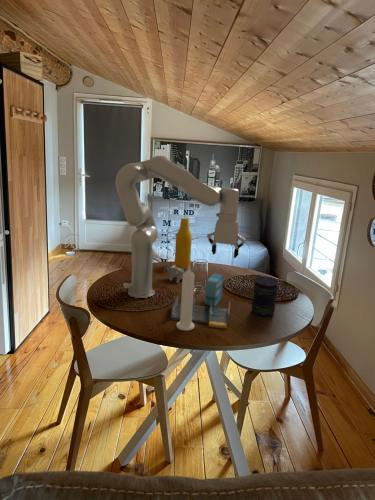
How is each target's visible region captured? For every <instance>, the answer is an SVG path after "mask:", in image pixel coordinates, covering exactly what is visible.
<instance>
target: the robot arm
mask: <svg viewBox="0 0 375 500" xmlns="http://www.w3.org/2000/svg"><path fill="white" fill-rule="evenodd" d="M155 178H158V179H160V180H162V181H164V182H166V183H168V184H169V185H171V186H173V187H175V188H177V189H178V190H180V191H181V192H183V193H184V194H185V195H187V196H189V197H190V198H192V199H194V200H196V201H198V202H199V203H201V204H203V205H205V206H207V207H214V206H216V205H217V204H219V212H217V213H216V214H215V216H216V217H217V218H218V219H217V220H216V222H215V226H214V227H215V228H214V232H211V233H208V234H207V235H206V237H207V239H208V242H209V243H210V244H211V253H212V255H215V254H217V244H224V245H230V246H234V250H233V251H234V253H233V259H236V258H237V257H238V256H239V251H240V248H242V247H243V246H244V244H245V243H246V242H247V239H246V238H245V237H243V236H241V235H240V234H239V230H240V229H239V221H238V220H237V219H238V209H239V198H240V197H239V196H240V191H239V190H240V189H238V188H234V187H221V186H215V185H208V184H206V183H204V182H202V181H201V180H199V179H197V178H196V177H195V176H194V175H193V174H192V173H191V172H190V171H189V170H187V169H185V168H184V167H182V166H180V165H178V164H177V163H174V162H173V161H171V160H170V159H169V157H168V156H165V155H155V156H153V157H152V158H150V159H147V160H142V161H139V162H131V163H127V164H125V165H124V166H122V167H121V168H120V169H119V170H118V172H117V174H116V177H115V189H116V191H117V196H118V197H119V200H120V204H121V207H122V211H123V213H124V216H125V219H126V222H127V223H128V224H129V225H130V226H131V227H135V228H136V229H135V230H134V231H133V233H132V234H131V237H130V248H131V282H130V283H127V282H123V284H122V287H123V289H125V290H128V291H127V294H128V296H129V297H131V298H133V297H134V299H138V298H145V299H149V298H148V297H150V298H152V297H154V296H155V295H156V291H155V289H153V265H154V264H153V263H154V262H153V261H154V259H153V257H154V253H153V244H154V243H155V242H156V241H157V239H158V233H159V232H158V229H157V225H156V223H155V222H156V221H155V219H154V216H153V213H152V210H151V208H150V206H149V205H148V204H147V203H145V202H142V201H141V198H140V194H139V191H138V190H137V187H136V184H137V183H140V182H144V181H148V180H151V179H155ZM212 237H213V239H212ZM239 240H240V241H241V242H240V243H238V241H239ZM154 294H155V295H154ZM153 295H154V296H153ZM151 296H152V297H151Z"/></svg>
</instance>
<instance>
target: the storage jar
mask: <svg viewBox="0 0 375 500" xmlns="http://www.w3.org/2000/svg"><path fill="white" fill-rule="evenodd" d="M278 285H279V281H278V280H277V279H274V278H271V277H267V276H265V277H263V276H262V277H257V278H255V280H254V285H253V299H252V303H251V310H250V311H251V314H252V315H253V316H255V317H256V318H260V319H271V318H273V317H274V315H275V310H276V297H277V294H278V289H279V288H278V287H279V286H278Z"/></svg>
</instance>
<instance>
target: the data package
mask: <svg viewBox="0 0 375 500" xmlns="http://www.w3.org/2000/svg"><path fill="white" fill-rule="evenodd" d="M223 284H224V274H217V273H213V274H212V275H211V276H210V277H209V278H208V279H207V280H206V285H205V298H204V306H207V307H210V304H211V299H213V305H212V307H215V308H216V306H217V304H218V303H219V302H220V301H221V300H222V297H223V287H224V285H223Z"/></svg>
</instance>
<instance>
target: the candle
mask: <svg viewBox="0 0 375 500" xmlns="http://www.w3.org/2000/svg"><path fill="white" fill-rule="evenodd" d="M195 276H196V275H195V273H194V272H193V271H192V270H191V265H190V266H189V267H188V269H186V271H184V273H183V279H182V282H181V284H182V286H181V298H180V299H181V301H180V303H181V314H180V320H179V321H178V322H176V328H177V329H178V330H180V331H184V332H185V331H186V332H187V331H191V330H193V329H195V322H192V308H193V299H194V295H195V294H194V293H195V280H196V279H195Z"/></svg>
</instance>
